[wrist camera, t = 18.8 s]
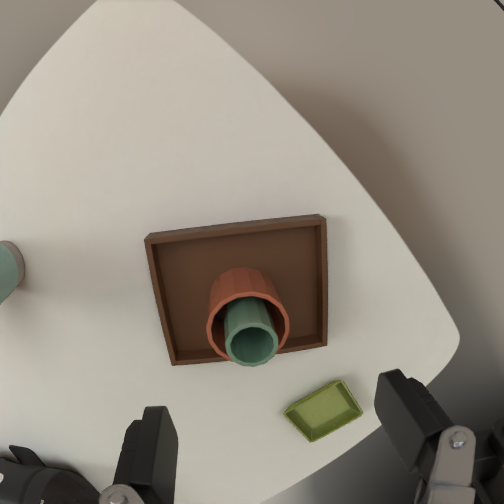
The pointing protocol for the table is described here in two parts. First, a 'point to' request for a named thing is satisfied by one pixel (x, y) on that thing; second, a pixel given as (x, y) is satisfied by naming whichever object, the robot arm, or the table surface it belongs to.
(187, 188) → the table surface
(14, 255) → the coffee cup
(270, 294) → the tumbler
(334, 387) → the saucer
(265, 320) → the small cup
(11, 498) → the dark grey hollow housing
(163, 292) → the tray
